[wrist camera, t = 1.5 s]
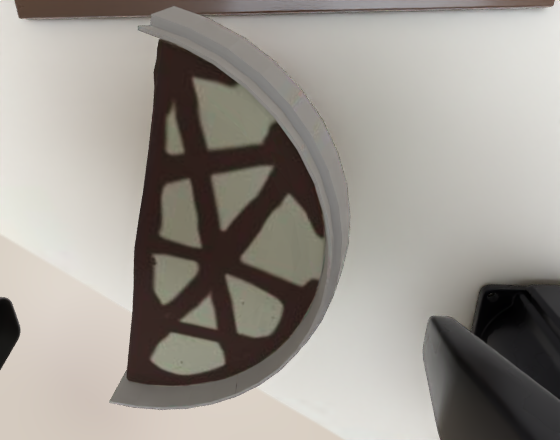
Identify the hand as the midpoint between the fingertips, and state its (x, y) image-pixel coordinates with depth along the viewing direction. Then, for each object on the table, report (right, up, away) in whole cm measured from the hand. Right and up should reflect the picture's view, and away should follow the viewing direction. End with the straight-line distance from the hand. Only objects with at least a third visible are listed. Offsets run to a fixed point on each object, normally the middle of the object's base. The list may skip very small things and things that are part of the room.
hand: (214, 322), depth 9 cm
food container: (+1, +5, +11) cm, 12 cm away
